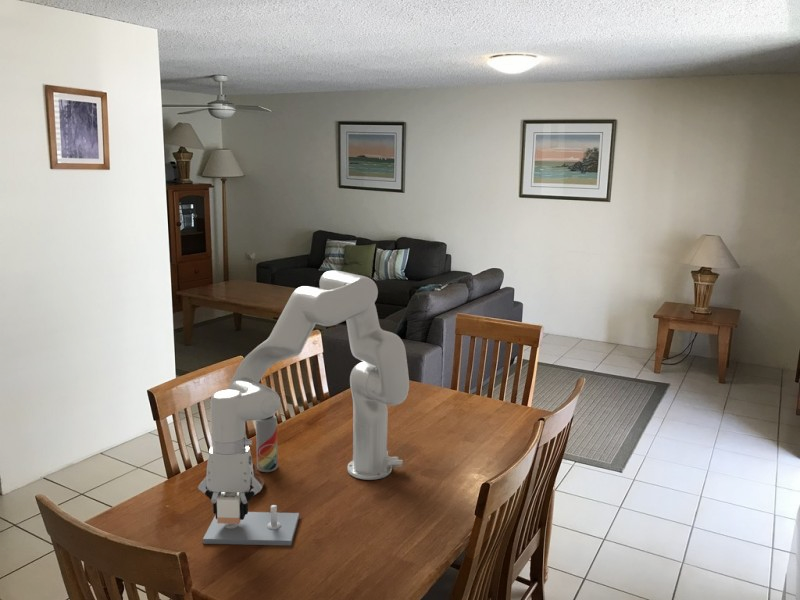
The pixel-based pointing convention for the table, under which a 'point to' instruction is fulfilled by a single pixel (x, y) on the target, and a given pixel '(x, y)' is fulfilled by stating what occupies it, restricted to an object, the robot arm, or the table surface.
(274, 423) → the lotion bottle
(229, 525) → the pin board
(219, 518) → the sleeve
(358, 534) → the table surface
